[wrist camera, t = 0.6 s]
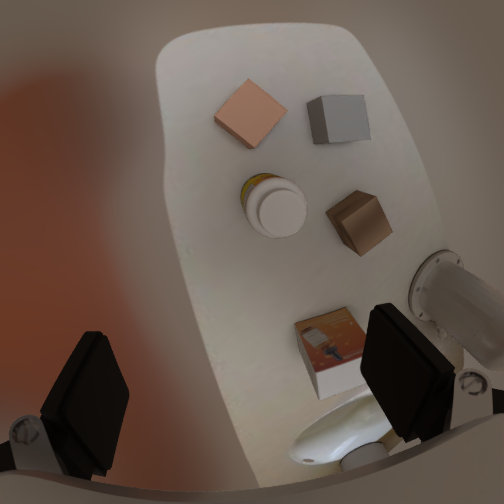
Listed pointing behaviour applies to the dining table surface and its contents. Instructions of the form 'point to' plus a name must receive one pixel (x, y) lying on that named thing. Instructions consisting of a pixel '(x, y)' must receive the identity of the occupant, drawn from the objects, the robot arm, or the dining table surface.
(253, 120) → the terracotta block
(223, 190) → the dining table surface
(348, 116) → the slate block
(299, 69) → the dining table surface
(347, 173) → the dining table surface
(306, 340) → the small box
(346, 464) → the cylinder vase
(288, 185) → the supplement bottle
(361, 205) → the walnut block
